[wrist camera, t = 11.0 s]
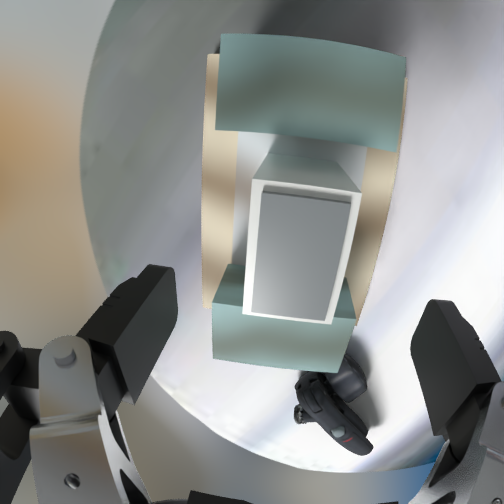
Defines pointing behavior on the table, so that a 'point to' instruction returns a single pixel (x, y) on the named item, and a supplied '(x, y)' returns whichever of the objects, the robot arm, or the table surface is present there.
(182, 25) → the table surface
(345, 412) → the can opener
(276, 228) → the block
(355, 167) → the rail board
